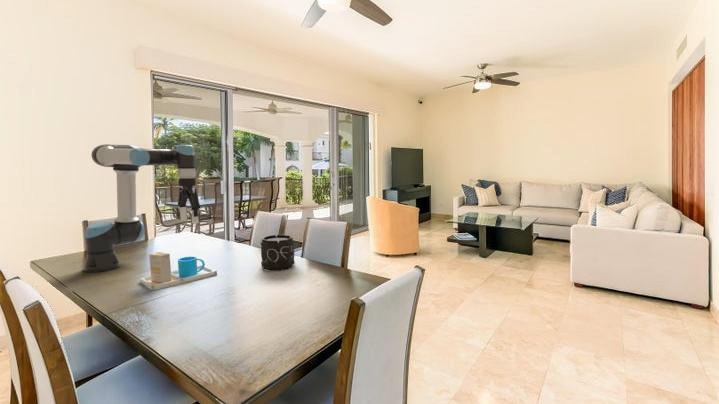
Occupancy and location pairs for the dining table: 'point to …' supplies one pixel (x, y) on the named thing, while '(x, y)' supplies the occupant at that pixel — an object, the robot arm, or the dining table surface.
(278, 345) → the dining table surface
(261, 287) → the dining table surface
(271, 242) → the black cylindrical pot
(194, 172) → the robot arm
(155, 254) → the supplement box
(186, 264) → the mug
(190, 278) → the organiser tray
